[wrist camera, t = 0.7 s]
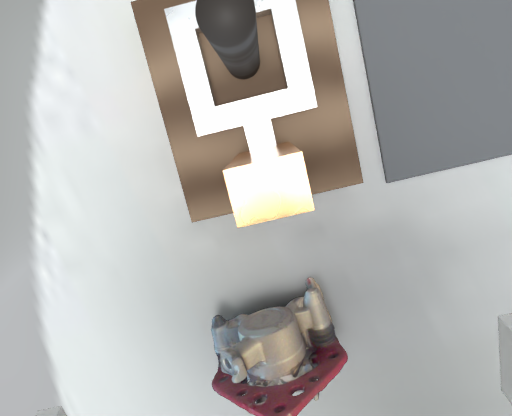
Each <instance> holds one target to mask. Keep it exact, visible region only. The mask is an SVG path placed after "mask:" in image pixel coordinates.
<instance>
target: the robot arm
mask: <svg viewBox="0 0 512 416" xmlns="http://www.w3.org/2000/svg"><path fill="white" fill-rule="evenodd" d="M498 330H499V352H500V375H501V390H502V392H503V393H504V394H505V396H506V397H507V399H508V400H509V401H510V403H511V404H512V313H511V314H506V315H501V316H498ZM35 416H67V415H66V413H65V412H64V410H63V408H62V406H58V407H53V408H48V409H44V410H39V411H38V412H37V413H36V415H35Z"/></svg>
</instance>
